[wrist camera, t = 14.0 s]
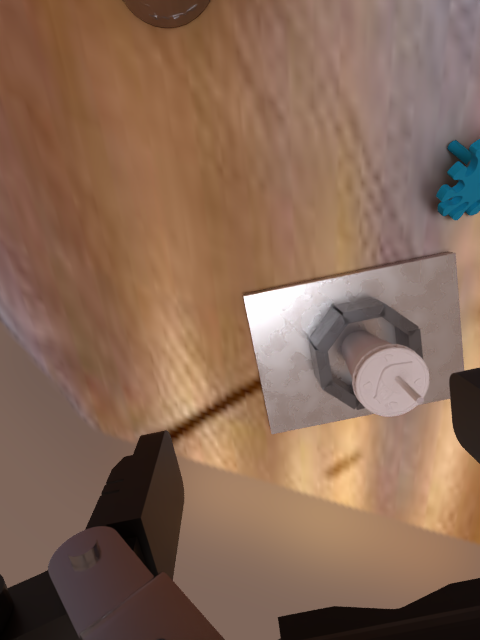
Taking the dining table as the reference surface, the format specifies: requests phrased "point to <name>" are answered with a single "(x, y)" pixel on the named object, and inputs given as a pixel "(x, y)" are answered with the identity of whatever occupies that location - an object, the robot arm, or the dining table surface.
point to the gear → (462, 183)
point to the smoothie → (385, 374)
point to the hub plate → (341, 320)
